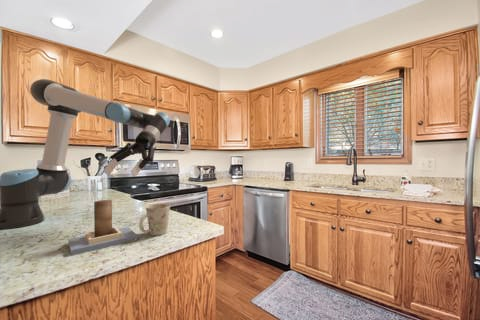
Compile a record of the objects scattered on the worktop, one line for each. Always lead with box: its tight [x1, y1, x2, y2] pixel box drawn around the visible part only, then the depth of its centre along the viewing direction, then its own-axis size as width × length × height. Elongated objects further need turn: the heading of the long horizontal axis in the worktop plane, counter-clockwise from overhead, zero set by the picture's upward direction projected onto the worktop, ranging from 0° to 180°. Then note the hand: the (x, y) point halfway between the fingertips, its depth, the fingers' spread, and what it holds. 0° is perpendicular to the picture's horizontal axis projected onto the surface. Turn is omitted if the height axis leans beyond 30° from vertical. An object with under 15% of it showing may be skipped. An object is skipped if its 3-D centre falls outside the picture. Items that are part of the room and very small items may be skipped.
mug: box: [138, 203, 171, 236], centre depth 79 cm, size 8×13×10 cm, turn 158°
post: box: [93, 199, 113, 238], centre depth 72 cm, size 5×5×12 cm
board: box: [67, 226, 139, 256], centre depth 72 cm, size 12×18×3 cm, turn 132°
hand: (119, 173), depth 82 cm, fingers open, 13 cm apart
